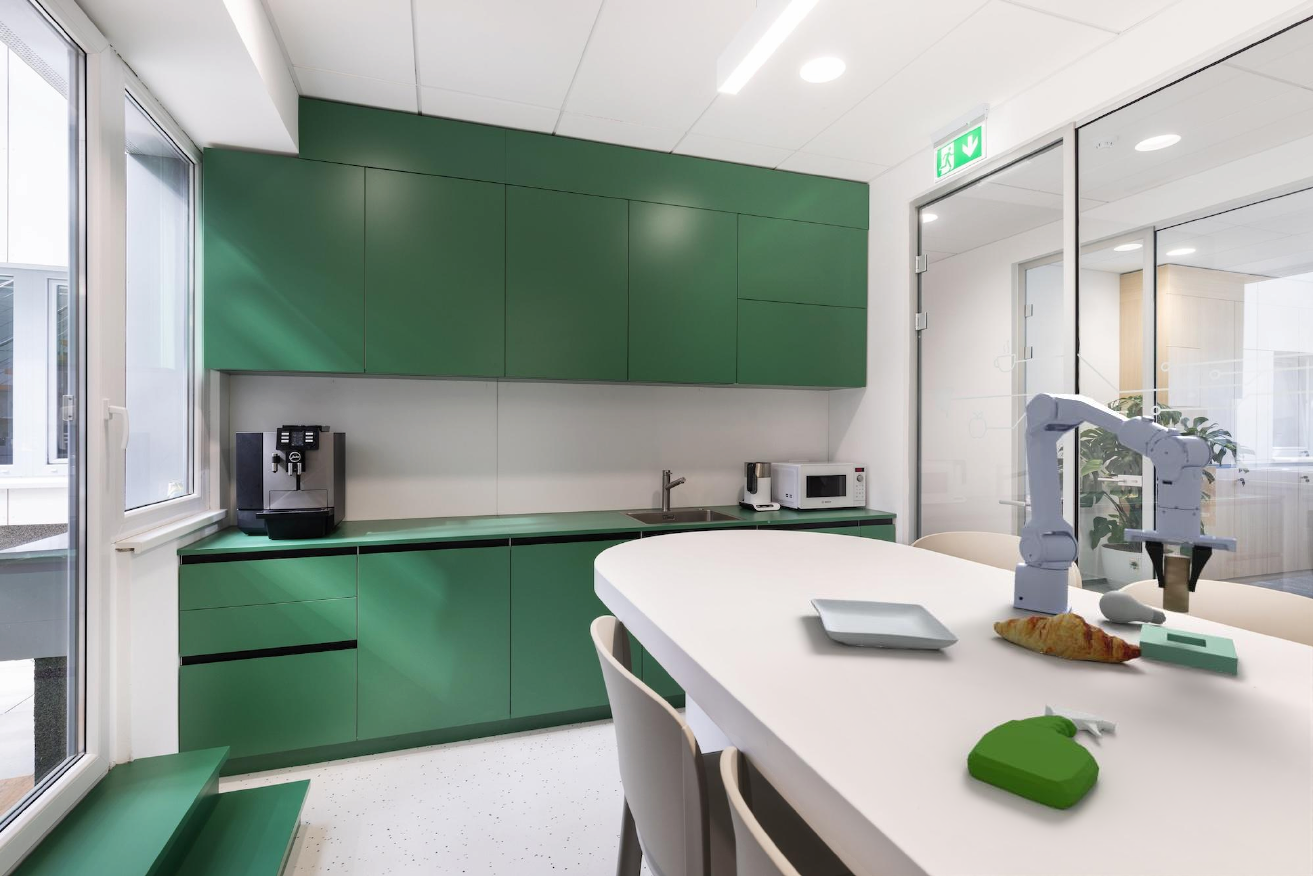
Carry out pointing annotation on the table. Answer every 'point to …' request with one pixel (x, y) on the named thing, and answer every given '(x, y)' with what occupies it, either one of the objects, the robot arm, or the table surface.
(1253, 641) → the table surface
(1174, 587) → the dowel
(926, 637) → the salad plate
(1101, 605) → the lightbulb
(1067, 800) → the spray bottle
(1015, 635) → the croissant
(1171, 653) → the socket block
